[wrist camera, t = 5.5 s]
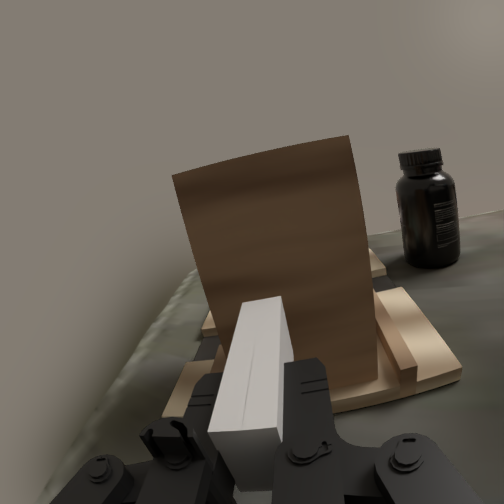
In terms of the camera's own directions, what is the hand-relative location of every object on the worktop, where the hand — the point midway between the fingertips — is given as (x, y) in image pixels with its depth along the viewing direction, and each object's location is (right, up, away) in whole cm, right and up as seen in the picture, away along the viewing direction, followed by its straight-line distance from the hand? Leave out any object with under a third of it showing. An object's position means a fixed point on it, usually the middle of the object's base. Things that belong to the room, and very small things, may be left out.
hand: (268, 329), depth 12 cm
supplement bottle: (+20, +2, +20) cm, 28 cm away
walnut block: (+3, -4, +8) cm, 9 cm away
